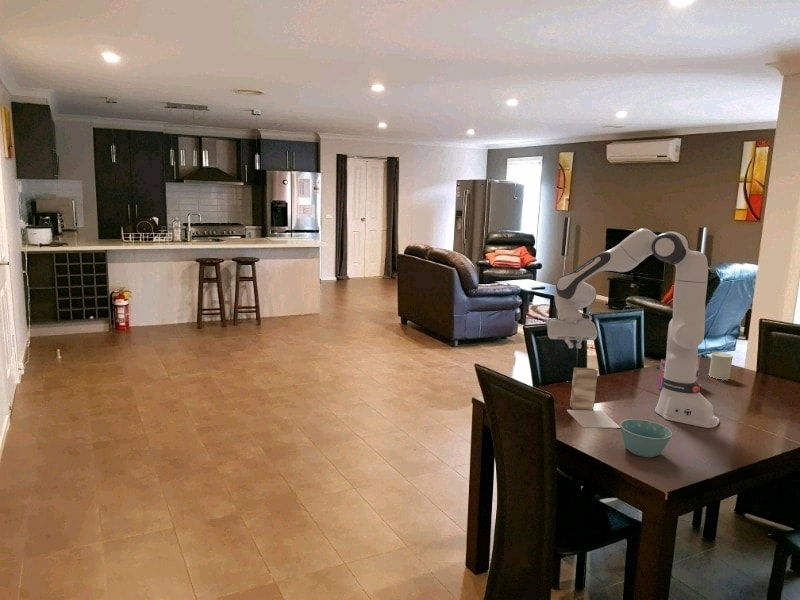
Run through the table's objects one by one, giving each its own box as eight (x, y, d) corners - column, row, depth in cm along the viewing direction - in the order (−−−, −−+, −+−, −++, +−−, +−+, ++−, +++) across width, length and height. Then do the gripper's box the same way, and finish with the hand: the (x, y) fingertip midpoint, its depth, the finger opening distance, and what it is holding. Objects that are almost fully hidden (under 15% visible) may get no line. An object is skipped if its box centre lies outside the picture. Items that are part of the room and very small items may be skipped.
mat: (566, 410, 228) (566, 409, 228) (601, 411, 229) (601, 410, 229) (582, 427, 211) (583, 426, 211) (620, 428, 212) (620, 427, 212)
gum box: (682, 380, 278) (686, 352, 275) (699, 385, 272) (703, 356, 269) (656, 388, 263) (660, 359, 260) (673, 393, 257) (677, 363, 254)
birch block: (569, 406, 233) (573, 367, 230) (589, 407, 233) (593, 368, 231) (573, 410, 229) (577, 370, 226) (593, 410, 229) (597, 371, 227)
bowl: (678, 462, 185) (682, 438, 184) (630, 462, 184) (634, 437, 183) (653, 442, 201) (656, 419, 200) (609, 441, 200) (612, 418, 198)
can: (713, 373, 292) (716, 350, 290) (732, 378, 285) (736, 354, 283) (704, 376, 286) (708, 352, 284) (724, 381, 279) (728, 357, 277)
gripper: (547, 314, 245) (552, 342, 237) (595, 316, 246) (602, 344, 238) (543, 322, 250) (548, 350, 242) (589, 324, 251) (596, 352, 243)
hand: (575, 347), depth 240 cm, fingers closed
